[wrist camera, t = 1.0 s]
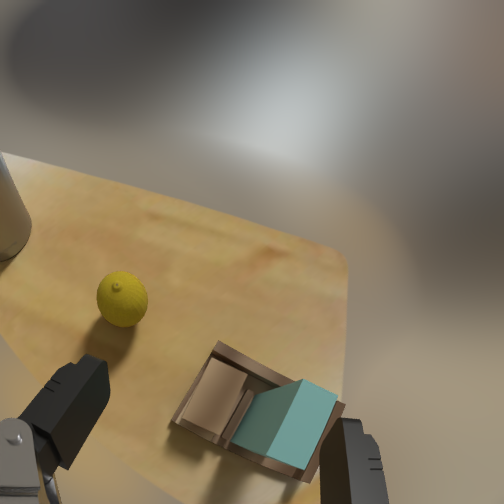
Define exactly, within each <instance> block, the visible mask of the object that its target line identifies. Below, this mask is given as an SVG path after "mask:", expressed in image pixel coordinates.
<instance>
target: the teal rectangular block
mask: <svg viewBox="0 0 504 504" xmlns="http://www.w3.org/2000/svg"><path fill="white" fill-rule="evenodd" d="M337 397H338V395H336V394H334V393H332V392H329V391H327V390H325V389H323V388H321V387H319V386H317V385H315V384H313V383H311V382H309V381H307V380H305V379H301V380H299V381H296V382H293V383H290V384H287V385H284V386H281V387H278V388H275V389H272V390H269V391H266V392H263V393H260V394H257V395H255V396H254V398H253V400H252V401H251V403H250V405H249V407H248V409H247V411H246V413H245V415H244V416H243V418H242V420H241V422H240V424H239V426H238V427H237V429H236V431H235V433H234V435H233V436H232V438H231V440H230V442H232V443H235V444H237V445H239V446H241V447H243V448H245V449H247V450H250V451H252V452H254V453H257V454H259V455H262V456H265V457H267V458H270V459H273V460H276V461H278V462H281V463H284V464H287V465H290V466H293V467H296V468H300V469H303V470H305V468H306V466H307V464H308V462H309V460H310V458H311V456H312V454H313V452H314V450H315V447H316V445H317V443H318V441H319V439H320V437H321V434H322V432H323V430H324V428H325V426H326V423H327V421H328V419H329V416H330V414H331V412H332V409H333V407H334V405H335V402H336V400H337Z"/></svg>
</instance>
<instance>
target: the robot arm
mask: <svg viewBox="0 0 504 504" xmlns="http://www.w3.org/2000/svg"><path fill="white" fill-rule="evenodd" d="M31 227H32V226H31V218H30V215H29V213H28V211H27V209H26V207H25V205H24V203H23V201H22V199H21V197H20V195H19V193H18V190H17V188H16V186H15V184H14V182H13V179H12V177H11V175H10V173H9V170H8V168H7V166H6V163H5V161H4V158H3V156H2V153H1V151H0V261H3V260H7V259H9V258H11V257H13V256H14V255H16V254H17V253H18V252H19V251H20V250H21V249H22V248H23V246H24V245H25V244H26V242H27V240H28V238H29V235H30V233H31ZM109 397H110V383H109V375H108V366H107V362H106V361H104V360H101V359H99V358H96V357H94V356H91V355H89V354H85V355H84V356H83V357H82V358H81V359H80V361H79V362H78V363H77V364H73V363H71V362H70V363H68V364H67V365H65V366H63V367H61V368H59V369H58V370H57V371H56V372H55V374H54V375H53V376H52V377H51V379H50V380H49V381H48V382H47V383H46V384H45V386H44V388H42V389H41V390H40V392H39V393H38V394H37V395H36V396H35V398H34V399H33V400H32V401H31V403H30V404H29V405H28V406H27V408H26V409H25V410H24V411H23V413H22V414H21V415H20V416H19V417H18V418H7V419H4V420H2V421H1V422H0V504H62V502H61V498H60V494H59V490H58V486H57V482H56V478H55V473H54V472H55V470H56V469H57V467H58V465H59V466H60V467H62V468H64V469H66V470H69V468H70V466H71V464H72V463H73V461H74V459H75V458H76V456H77V454H78V453H79V451H80V449H81V447H82V446H83V444H84V442H85V441H86V439H87V437H88V435H89V434H90V432H91V430H92V429H93V427H94V425H95V424H96V422H97V420H98V419H99V417H100V415H101V414H102V412H103V410H104V409H105V407H106V405H107V403H108V401H109ZM319 464H320V495H321V504H389V499H388V494H387V488H386V482H385V477H384V472H383V471H382V469H383V466H382V462H381V456H380V452H379V447H378V445H377V443H376V442H375V440H374V439H373V437H372V436H371V435H370V434H364V432H363V426H362V422H361V420H360V419H350V418H341V417H339V418H337V420H336V421H335V423H334V424H333V426H332V428H331V429H330V431H329V433H328V434H327V436H326V437H325V439H324V440H323V442H322V445H321V448H320V453H319Z"/></svg>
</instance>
